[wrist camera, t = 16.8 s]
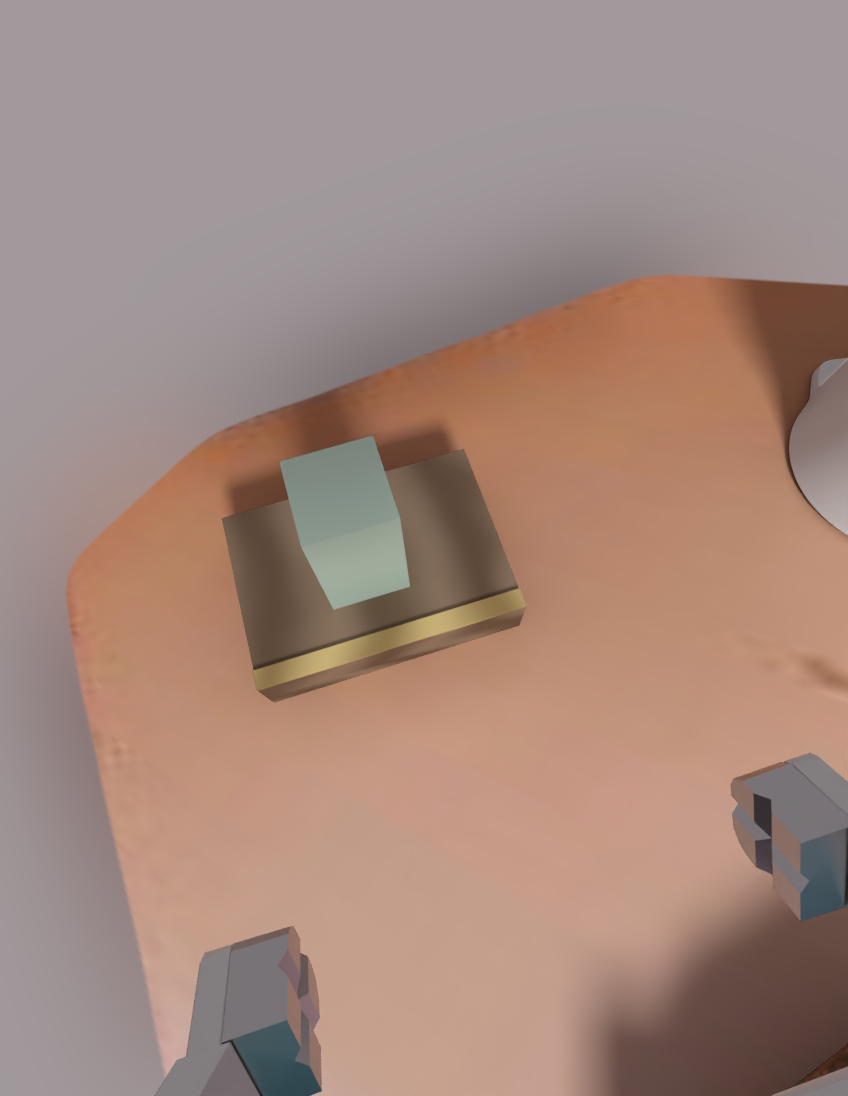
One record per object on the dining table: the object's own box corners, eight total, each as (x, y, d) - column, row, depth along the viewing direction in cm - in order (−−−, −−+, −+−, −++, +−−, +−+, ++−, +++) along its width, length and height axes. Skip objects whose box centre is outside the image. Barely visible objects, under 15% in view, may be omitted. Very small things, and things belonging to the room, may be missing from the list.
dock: (462, 477, 49) (463, 446, 45) (519, 625, 44) (526, 605, 40) (239, 542, 47) (220, 516, 43) (274, 702, 42) (256, 690, 38)
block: (388, 518, 43) (372, 435, 34) (410, 586, 41) (400, 518, 32) (314, 540, 42) (278, 461, 33) (333, 609, 41) (300, 547, 31)
